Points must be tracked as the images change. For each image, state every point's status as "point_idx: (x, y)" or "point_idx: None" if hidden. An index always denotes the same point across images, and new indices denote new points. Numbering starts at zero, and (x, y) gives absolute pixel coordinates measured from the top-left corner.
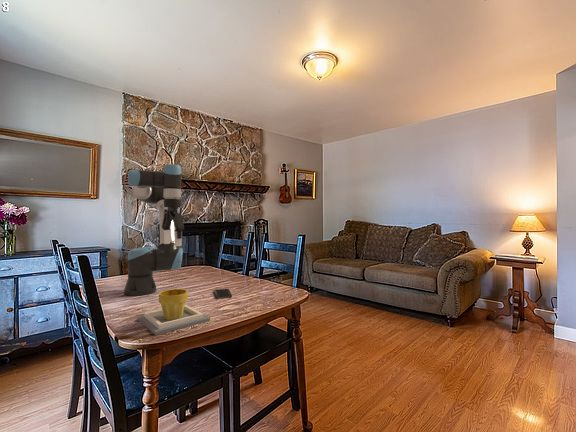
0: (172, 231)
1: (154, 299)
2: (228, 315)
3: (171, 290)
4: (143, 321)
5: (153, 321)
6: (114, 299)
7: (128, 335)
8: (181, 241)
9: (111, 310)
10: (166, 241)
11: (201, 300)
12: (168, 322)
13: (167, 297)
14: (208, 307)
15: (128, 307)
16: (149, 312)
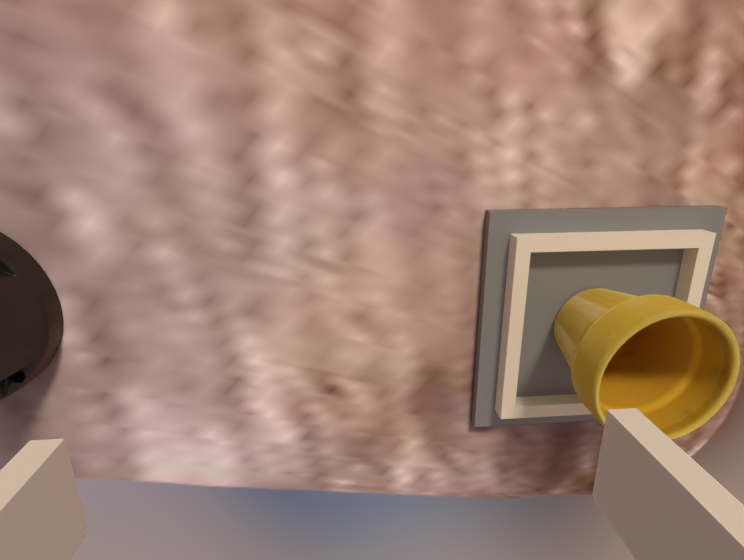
0: None
1: (196, 288)
2: (735, 98)
3: (603, 368)
4: (544, 422)
5: None
6: (70, 443)
7: None
8: (694, 468)
9: (272, 475)
10: (52, 539)
11: (400, 77)
12: None
13: (701, 419)
14: (552, 113)
15: (271, 417)
16: (509, 401)
